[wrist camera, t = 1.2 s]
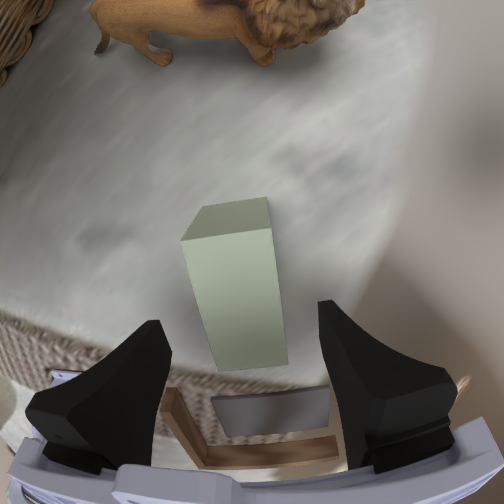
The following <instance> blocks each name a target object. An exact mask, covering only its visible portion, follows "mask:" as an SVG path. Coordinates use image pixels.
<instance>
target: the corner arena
mask: <svg viewBox="0 0 504 504" xmlns="http://www.w3.org/2000/svg"><path fill="white" fill-rule="evenodd" d="M329 399H330V386H329V385H325V386H319V387H312V388H306V389H298V390H291V391H283V392H274V393H264V394H253V395H240V396H224V397H211V402H212V405H213V407H214V409H215V412H216V414H217V416H218V419H219V421H220V423H221V425H222V428H223V430H224V432H225V434H226V436H227V437H231V436H252V435H266V434H277V433H286V432H295V431H303V430H310V429H316V428H322V427H328V419H329ZM160 413H161V415H162V416H163V418H164V420H165V421H166V423H167V424H168V426H169V427H170V429H171V430H172V432H173V433H174V435H175V436H176V438H177V439H178V441H179V442H180V444H181V445H182V446H183V448H184V449H185V451H186V452H187V453H188V455H189V456H190V457H191V459H192V460H193V462H194V463H195V464H196V466H197V467H198V468H199V469H206V470H245V469H265V468H278V467H288V466H296V465H304V464H312V463H319V462H325V461H330V460H336V459H339V452H338V447H337V442H336V436H335V435H333V436H326V437H320V438H314V439H307V440H300V441H292V442H283V443H272V444H260V445H242V446H207V444H206V442H205V440H204V439H203V437H202V435H201V434H200V432H199V430H198V428H197V426H196V425H195V423H194V421H193V419H192V417H191V415H190V414H189V412H188V410H187V408H186V406H185V404H184V402H183V400H182V398H181V396H180V394H179V392H178V390H177V388H166V392H165V395H164V398H163V402H162V405H161V409H160Z"/></svg>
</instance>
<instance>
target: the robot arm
mask: <svg viewBox="0 0 504 504" xmlns="http://www.w3.org/2000/svg"><path fill="white" fill-rule="evenodd" d="M318 315H319V339H320V344H321V349H322V354H323V358H324V361H325V364H326V367H327V370H328V373H329V376H330V379H331V382H332V385H333V388H334V391H335V395H336V398H337V402H338V407H339V412H340V417H341V423H342V429H343V435H344V442H345V448H346V456H347V464H348V471H344V472H339V473H333V474H328V475H322V476H315V477H308V478H301V479H292V480H282V481H267V482H244V483H238V482H237V481H235V480H234V479H232V478H231V477H229V476H226V475H222V474H219V473H214V472H206V471H195V470H180V469H169V468H159V467H151V456H152V443H153V434H154V427H155V421H156V415H157V410H158V407H159V403H160V400H161V397H162V393H163V390H164V387H165V384H166V381H167V377H168V374H169V370H170V365H171V358H172V350H171V348H170V346H169V343H168V341H167V338H166V336H165V333H164V331H163V328H162V325H161V323H160V320H148V321H146V322H145V323H144V324H143V325H141V326H140V327H139V328H138V329H137V330H136V331H135V332H134V333H132V334H131V335H130V336H129V337H128V338H127V339H126V340H125V341H124V342H123V343H122V344H120V345H119V346H118V347H117V348H116V349H115V350H113V351H112V352H111V353H110V354H109V355H107V356H106V357H105V358H104V359H102V360H101V361H100V362H98V363H97V364H95V365H94V366H93V367H91V368H90V369H88V370H86V371H85V372H83V373H82V372H70V371H61V370H52V372H51V373H52V375H53V377H54V378H55V379H54V380H53V382H52V383H51V385H50V387H49V388H48V389H46V390H43V391H40V392H37V393H35V395H34V396H33V398H32V400H31V401H30V403H29V405H28V406H27V408H26V410H25V414H26V417H27V419H28V420H29V422H30V423H31V424H32V433H33V436H34V438H31V439H30V438H28V437H25V438H24V440H23V442H22V444H21V445H20V447H19V449H18V451H17V453H16V455H15V457H14V460H13V462H12V464H11V466H10V468H9V470H8V472H7V473H8V475H9V476H10V483H9V485H8V487H7V490H6V494H7V501H8V503H9V504H35V503H33V502H32V501H30V500H29V499H28V498H26V496H25V495H27V496H28V497H30V498H31V499H33V500H35V501H36V502H38V503H40V504H452V503H454V502H456V501H458V500H460V499H462V498H464V497H466V496H467V495H469V494H471V493H473V492H475V491H476V490H478V489H479V488H480V487H481V486H483V485H484V484H485V483H486V482H487V481H488V480H489V479H490V478H492V477H493V476H494V475H495V474H496V473H497V472H498V471H499V470H500V469H501V468H502V467H504V459H503V457H502V455H501V453H500V451H499V449H498V447H497V445H496V443H495V440H494V439H493V437H492V435H491V433H490V431H489V429H488V427H487V425H486V423H485V421H484V419H483V418H482V417H478V418H476V419H474V420H472V421H470V422H468V423H466V424H463V425H461V426H459V427H458V428H456V429H455V430H453V431H452V432H451V431H450V428H449V425H450V419H449V417H448V413H449V411H450V409H451V407H452V405H453V403H454V401H455V399H456V396H457V393H458V391H457V387H456V385H455V383H454V382H453V380H452V378H451V377H450V375H449V374H448V373H447V371H446V370H445V369H444V368H441V367H438V366H434V365H430V364H427V363H423V362H421V361H418V360H415V359H412V358H410V357H408V356H405V355H403V354H401V353H399V352H397V351H395V350H393V349H391V348H389V347H388V346H386V345H384V344H383V343H381V342H380V341H378V340H376V339H375V338H373V337H372V336H371V335H369V334H368V333H367V332H366V331H364V330H363V329H362V328H361V327H359V326H358V325H357V324H356V323H355V322H354V321H353V320H352V319H351V318H350V317H348V316H347V315H346V314H345V313H344V312H343V311H342V310H341V309H340V308H339V306H338V305H337V304H336V303H335V302H334V301H332V300H327V301H321V302H318ZM24 494H25V495H24Z"/></svg>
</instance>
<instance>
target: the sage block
mask: <svg viewBox="0 0 504 504" xmlns="http://www.w3.org/2000/svg"><path fill="white" fill-rule="evenodd" d="M180 243H181V247H182V251H183V254H184V258H185V262H186V266H187V269H188V273H189V277H190V280H191V284H192V288H193V291H194V295H195V298H196V302H197V305H198V308H199V312H200V315H201V318H202V322H203V325H204V328H205V331H206V335H207V338H208V341H209V344H210V347H211V350H212V354H213V357H214V360H215V363H216V366H217V369H218V371H229V370H241V369H252V368H262V367H271V366H280V365H288V355H287V347H286V338H285V330H284V322H283V314H282V306H281V298H280V290H279V282H278V275H277V267H276V260H275V253H274V245H273V238H272V231H271V224H270V217H269V211H268V204H267V197H261V198H254V199H248V200H241V201H235V202H228V203H222V204H216V205H210V206H204V207H202V208H201V210H200V211H199V213H198V214H197V216H196V217H195V219H194V220H193V222H192V224H191V225H190V227H189V228H188V230H187V231H186V233H185V234H184V236H183V238H182V239H181V241H180Z"/></svg>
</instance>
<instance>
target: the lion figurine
mask: <svg viewBox="0 0 504 504" xmlns="http://www.w3.org/2000/svg"><path fill="white" fill-rule="evenodd" d="M364 5H365V0H95V2H94V3H93V4H92V6H91V8H90V13H91V16H92V18H93V19H94V21H95V22H96V23H97V25H98V27H99V28H100V30H101V32H102V39H101V42H100V43H99V45H98V46H97V48H96V50H95V52H94V55H97V54H99V53H103V52H104V51H105V50H106V48H107V47H108V44H109V41H110V36H112V37H113V38H115V39H117V40H119V41H121V42H124V43H127V44H129V45H132V46H134V47H135V49H136V50H137V51H138V52H140V53H142V54H144V55H146V56H147V57H149V58H150V59H151V60H152V61H153V62H154V63H156V64H158V65H160V66H166V65H168V64H169V63H170V62H171V60H172V52H171V51H170V50H169V49H165V48H157V47H154V46H152V45H150V44H149V35H148V32H150V31H161V32H165V33H168V34H172V35H176V36H180V37H186V38H196V39H228V38H237V39H238V40H239V41H240V42H241V43H242V44H243V45H244V46H246V47H247V49H248V50H249V52H250V55H251V56H252V58H253V59H254V60H255V61H256V62H257V63H258V64H260V65H262V66H267V65H269V64H271V63H272V62H273V61H274V59H275V51H274V50H272V49H271V48H283V49H287V50H291V49H293V48H295V47H297V46H298V45H299V44H300V43H305V44H309V43H311V42H313V41H315V40H316V39H317V38H318V37H320V36H324V35H326V34H327V33H328V32H329V30H333V29H336V28H338V27H339V26H340V25H342V24H343V23H344V22H345V21H346V19H347V18H348V17H350V16H351V15H354V14H357V13H358V11H359V10H360V9H361V8H362V7H364Z"/></svg>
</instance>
